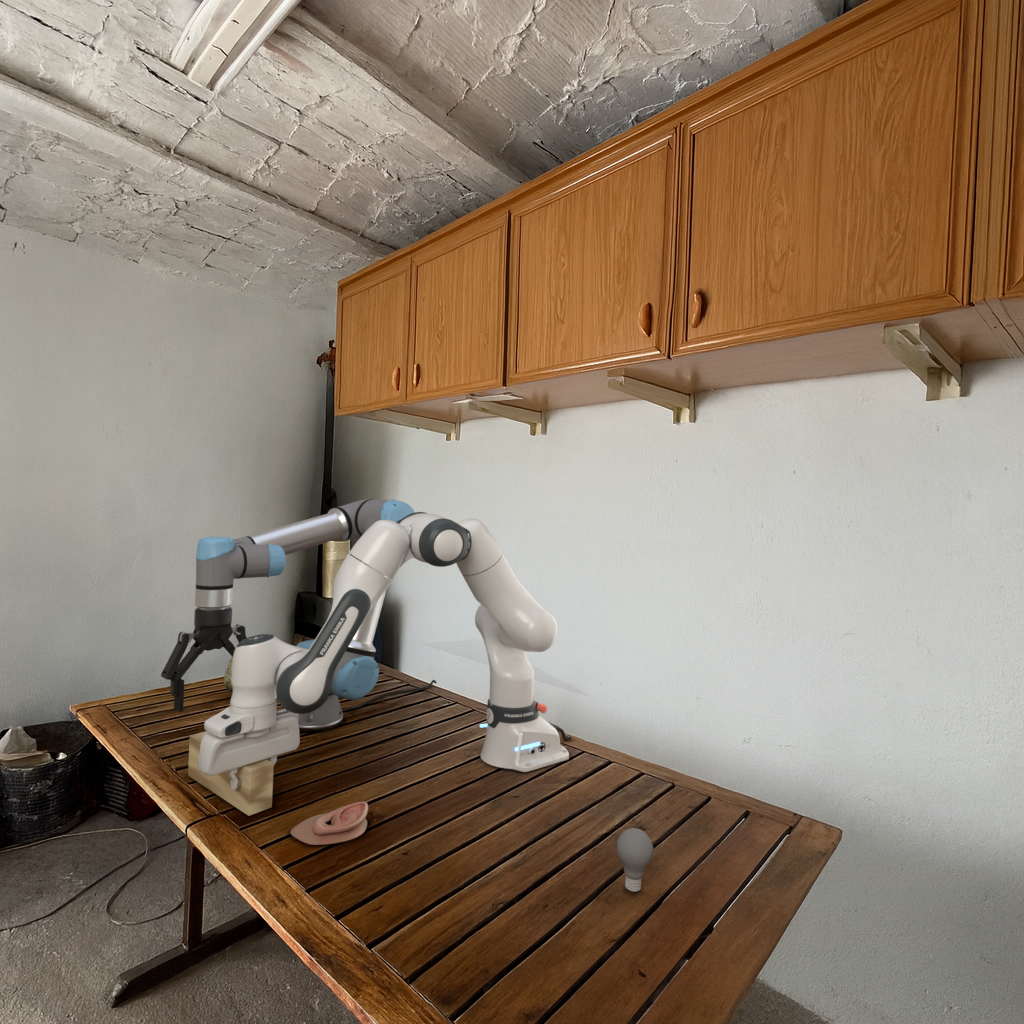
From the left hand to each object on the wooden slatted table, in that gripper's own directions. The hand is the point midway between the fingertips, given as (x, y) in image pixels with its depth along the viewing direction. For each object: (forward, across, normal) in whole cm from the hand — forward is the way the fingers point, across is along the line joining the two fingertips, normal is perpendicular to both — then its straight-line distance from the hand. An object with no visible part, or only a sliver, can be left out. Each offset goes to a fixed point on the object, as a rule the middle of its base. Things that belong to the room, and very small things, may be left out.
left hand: (210, 702), depth 140 cm
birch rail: (+17, 0, +9) cm, 19 cm away
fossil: (+17, -37, -46) cm, 61 cm away
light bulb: (+17, -28, +90) cm, 96 cm away
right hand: (+12, 0, +18) cm, 22 cm away
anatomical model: (+17, -5, +38) cm, 42 cm away
